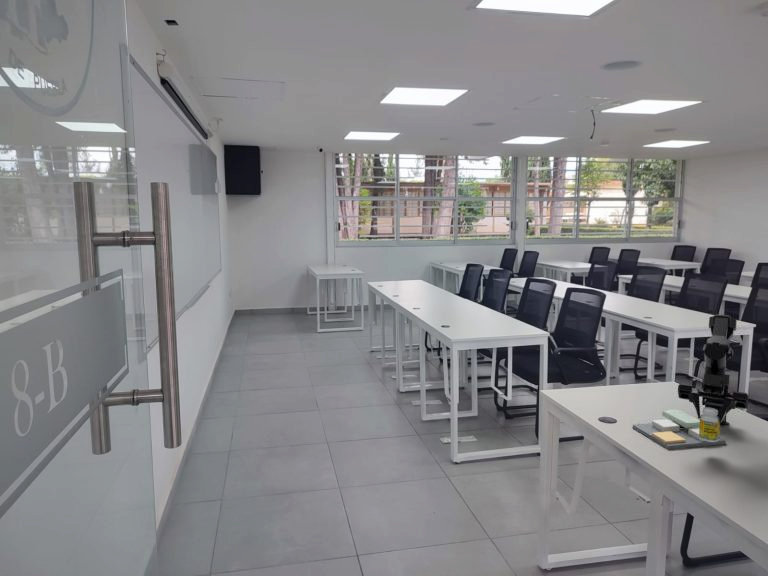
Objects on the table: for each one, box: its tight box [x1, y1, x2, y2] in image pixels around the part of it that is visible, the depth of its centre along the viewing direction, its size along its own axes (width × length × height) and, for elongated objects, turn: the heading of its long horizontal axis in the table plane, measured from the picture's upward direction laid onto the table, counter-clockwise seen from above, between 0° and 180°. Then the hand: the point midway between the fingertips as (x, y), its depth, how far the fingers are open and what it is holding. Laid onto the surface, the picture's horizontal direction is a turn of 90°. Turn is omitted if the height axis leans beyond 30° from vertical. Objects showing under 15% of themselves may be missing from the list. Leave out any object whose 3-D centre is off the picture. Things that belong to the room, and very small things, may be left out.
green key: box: [661, 409, 700, 428], centre depth 183 cm, size 6×12×3 cm, turn 9°
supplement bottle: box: [699, 406, 721, 442], centre depth 163 cm, size 5×5×10 cm
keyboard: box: [632, 418, 727, 450], centre depth 178 cm, size 21×18×3 cm
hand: (709, 419), depth 162 cm, fingers closed on supplement bottle, 5 cm apart
